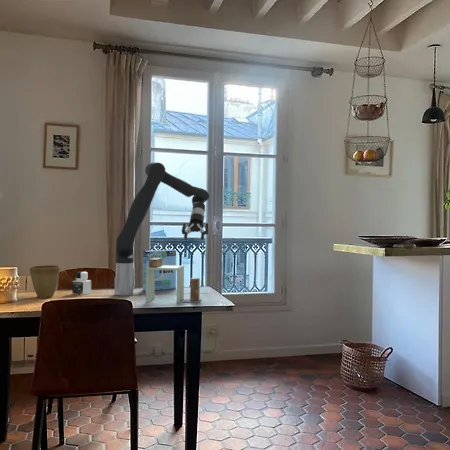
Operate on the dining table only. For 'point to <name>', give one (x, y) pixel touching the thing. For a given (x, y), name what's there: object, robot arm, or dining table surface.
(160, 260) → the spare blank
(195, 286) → the block
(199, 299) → the mat
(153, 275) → the shelf
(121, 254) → the robot arm
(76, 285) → the medicine bottle
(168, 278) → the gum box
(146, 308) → the dining table surface
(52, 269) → the plant pot
